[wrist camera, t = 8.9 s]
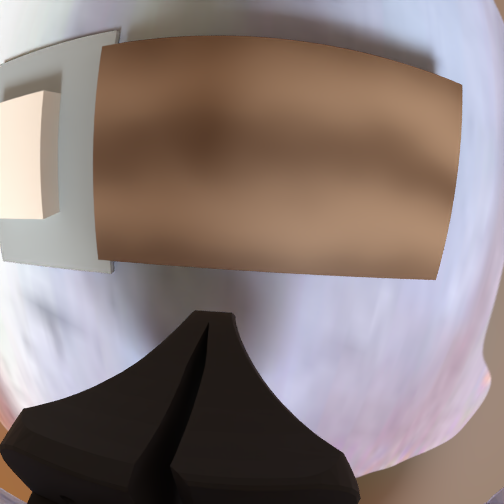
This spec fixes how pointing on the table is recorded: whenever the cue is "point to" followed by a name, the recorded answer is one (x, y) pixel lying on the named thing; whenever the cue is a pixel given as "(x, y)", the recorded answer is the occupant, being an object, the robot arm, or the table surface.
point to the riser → (273, 158)
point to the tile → (29, 156)
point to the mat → (61, 155)
